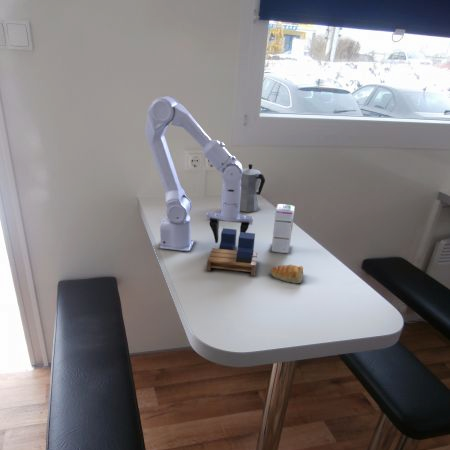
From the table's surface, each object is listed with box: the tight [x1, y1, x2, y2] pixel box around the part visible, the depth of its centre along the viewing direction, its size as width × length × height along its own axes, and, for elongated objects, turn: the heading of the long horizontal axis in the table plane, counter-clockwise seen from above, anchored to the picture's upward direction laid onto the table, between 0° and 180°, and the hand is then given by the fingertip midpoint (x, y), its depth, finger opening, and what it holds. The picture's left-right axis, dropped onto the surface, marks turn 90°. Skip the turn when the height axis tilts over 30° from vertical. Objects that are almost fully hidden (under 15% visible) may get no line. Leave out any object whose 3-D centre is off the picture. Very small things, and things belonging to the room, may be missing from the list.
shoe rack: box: [206, 247, 258, 277], centre depth 121 cm, size 14×9×4 cm, turn 82°
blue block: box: [219, 227, 238, 251], centre depth 130 cm, size 7×4×6 cm, turn 172°
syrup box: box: [271, 203, 296, 254], centre depth 132 cm, size 6×6×14 cm
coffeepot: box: [239, 163, 266, 213], centre depth 164 cm, size 15×9×18 cm, turn 37°
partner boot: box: [236, 231, 256, 263], centre depth 119 cm, size 7×4×6 cm, turn 172°
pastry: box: [270, 264, 304, 284], centre depth 118 cm, size 9×7×4 cm
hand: (228, 243), depth 131 cm, fingers open, 7 cm apart
